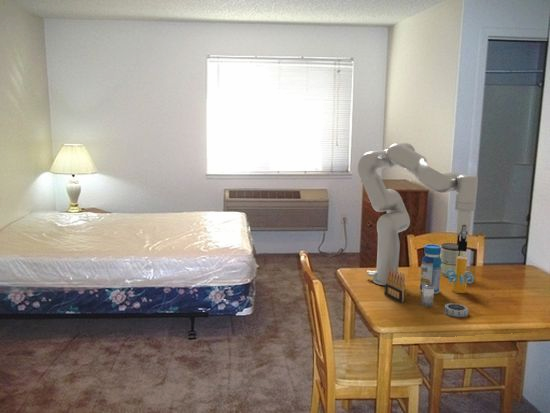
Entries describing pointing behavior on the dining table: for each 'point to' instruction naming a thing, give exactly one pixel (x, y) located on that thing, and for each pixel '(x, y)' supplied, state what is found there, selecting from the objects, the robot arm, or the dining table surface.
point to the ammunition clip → (395, 286)
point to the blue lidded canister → (431, 267)
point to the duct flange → (456, 310)
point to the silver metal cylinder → (427, 295)
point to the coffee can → (449, 257)
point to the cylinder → (460, 276)
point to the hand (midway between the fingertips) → (461, 247)
